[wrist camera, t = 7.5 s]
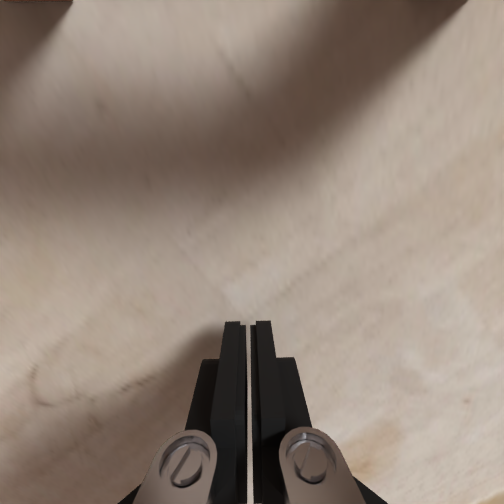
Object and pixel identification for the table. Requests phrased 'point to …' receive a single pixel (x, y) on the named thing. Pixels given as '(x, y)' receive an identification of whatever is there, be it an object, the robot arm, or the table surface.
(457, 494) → the table surface
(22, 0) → the bridge
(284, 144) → the table surface
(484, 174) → the table surface
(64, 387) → the table surface
